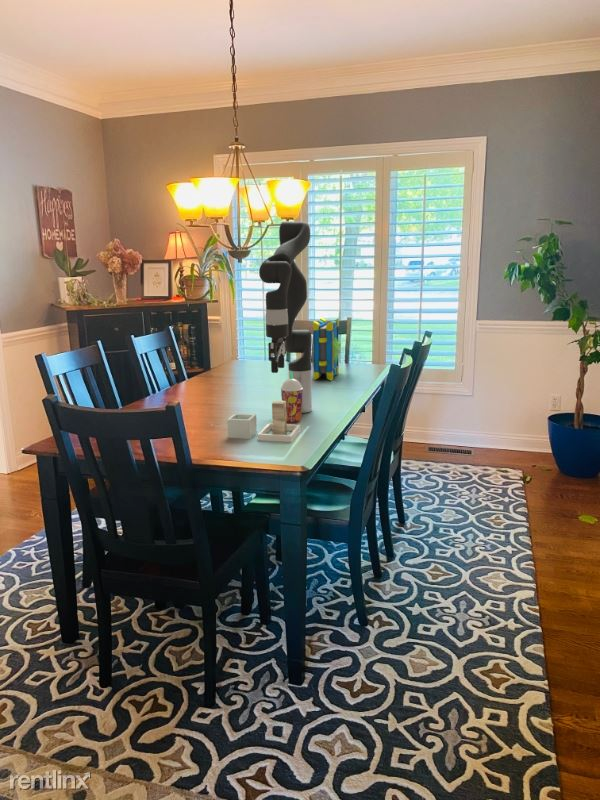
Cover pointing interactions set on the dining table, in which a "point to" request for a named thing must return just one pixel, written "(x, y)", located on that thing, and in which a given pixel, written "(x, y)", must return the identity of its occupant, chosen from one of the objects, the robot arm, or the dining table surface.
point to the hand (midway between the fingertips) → (278, 370)
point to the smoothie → (292, 399)
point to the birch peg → (279, 417)
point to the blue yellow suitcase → (326, 348)
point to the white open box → (242, 426)
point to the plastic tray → (274, 437)
